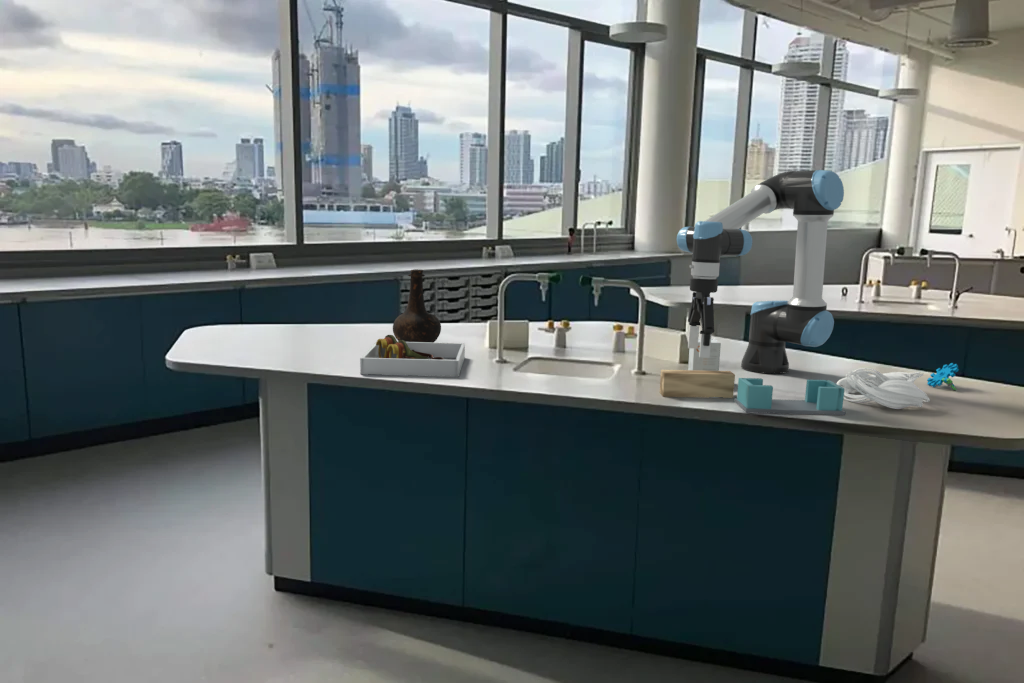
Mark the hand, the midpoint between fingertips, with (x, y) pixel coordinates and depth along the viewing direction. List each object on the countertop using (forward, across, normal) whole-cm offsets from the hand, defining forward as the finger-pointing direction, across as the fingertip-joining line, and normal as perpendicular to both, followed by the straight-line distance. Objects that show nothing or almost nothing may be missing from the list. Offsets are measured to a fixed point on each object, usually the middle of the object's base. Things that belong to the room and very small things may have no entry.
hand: (698, 352), depth 213 cm
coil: (+12, +2, +52) cm, 53 cm away
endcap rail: (+12, +12, +22) cm, 28 cm away
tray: (+13, -30, -84) cm, 90 cm away
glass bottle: (+13, -65, -88) cm, 110 cm away
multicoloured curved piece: (+14, -30, -83) cm, 90 cm away
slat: (+13, 0, 0) cm, 13 cm away
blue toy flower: (+12, -18, +81) cm, 84 cm away
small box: (+12, -17, +6) cm, 22 cm away
